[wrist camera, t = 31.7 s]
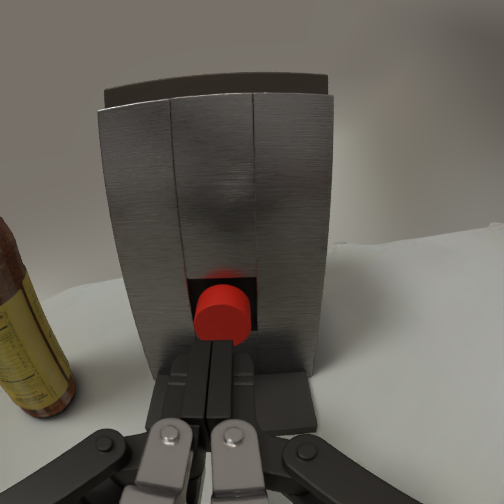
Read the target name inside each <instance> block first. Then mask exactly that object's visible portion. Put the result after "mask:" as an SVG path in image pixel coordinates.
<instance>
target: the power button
mask: <svg viewBox="0 0 504 504" xmlns="http://www.w3.org/2000/svg"><path fill="white" fill-rule="evenodd" d="M194 330H195V332H196V334H197V336H198V337H199V338H200V339H201V340H212V341H213V340H233V344H234V346H236V345H238V344H240V343H242V342H243V341H244V340H246V338H247V337H248V336H249V334H250V331H251V310H250V302H249V299H248V297H247V296H246V294H245V293H244V292H243V291H241V290H240V289H238V288H236V287H234V286H231V285H225V284H221V285H215V286H212V287H209V288H208V289H206V290H205V291H204V292H203V293H202V294H201V295H200V297H199V299H198V303H197V308H196V313H195V318H194Z"/></svg>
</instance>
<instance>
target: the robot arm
mask: <svg viewBox="0 0 504 504" xmlns="http://www.w3.org/2000/svg"><path fill="white" fill-rule="evenodd" d="M206 452H211V461H212V483H213V494H212V496H211V504H269V501H268V495H267V492H266V489H267V490H272V491H276V492H281V493H282V494H283V495H284V496H285V497H286V498H288V499H289V500H290V501H291V502H292V503H294V504H422V503H420V502H419V501H417V500H415V499H413V498H412V497H410V496H408V495H406V494H405V493H403V492H401V491H400V490H398V489H396V488H395V487H393V486H392V485H390V484H388V483H387V482H385V481H383V480H382V479H380V478H379V477H377V476H376V475H374V474H373V473H371V472H369V471H368V470H366V469H365V468H363V467H362V466H360V465H359V464H357V463H356V462H354V461H353V460H352V459H350V458H349V457H347V456H346V455H344V454H343V453H341V452H340V451H339V450H337V449H336V448H334V447H333V446H332V445H330V444H329V443H327V442H326V441H325V440H323V439H322V438H320V437H318V436H316V435H311V434H302V435H298V436H295V437H293V438H291V439H290V440H289V439H284V438H279V437H275V436H272V435H269V434H268V433H266V432H264V431H263V430H262V429H261V428H260V426H259V425H258V423H257V419H256V405H255V385H254V365H253V361H252V359H251V358H250V356H249V355H248V353H234V344H233V340H213V341H212V340H193V342H192V347H191V352H190V354H179V355H178V357H177V358H176V359H175V360H174V362H173V363H172V366H171V371H170V376H169V380H168V385H167V389H166V394H165V398H164V403H163V408H162V413H161V417H160V420H159V421H158V422H156V423H155V424H154V425H153V426H152V427H151V429H150V430H149V431H148V432H145V433H142V434H137V435H131V436H125V437H123V436H122V435H121V434H120V433H119V432H118V431H116V430H113V429H100V430H98V431H96V432H94V433H93V434H91V435H90V436H88V437H87V438H85V439H84V440H83V441H81V442H80V443H78V444H77V445H75V446H74V447H72V448H71V449H69V450H68V451H66V452H65V453H63V454H62V455H60V456H59V457H57V458H56V459H54V460H53V461H51V462H50V463H48V464H47V465H45V466H44V467H42V468H40V469H39V470H37V471H36V472H34V473H33V474H31V475H29V476H28V477H26V478H25V479H23V480H21V481H20V482H18V483H17V484H15V485H13V486H12V487H10V488H8V489H7V490H5V491H3V492H2V493H0V504H201V498H202V491H203V484H204V478H205V471H206V468H205V459H206Z"/></svg>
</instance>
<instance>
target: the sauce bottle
mask: <svg viewBox="0 0 504 504" xmlns="http://www.w3.org/2000/svg"><path fill="white" fill-rule="evenodd" d="M0 385H1V386H2V388H3V389H4V390H5V392H6V393H7V394H8V396H9V397H10V398H11V399H12V401H13V402H14V403H15V404H17V405H18V406H20V407H21V408H22V409H23V410H24V411H25V412H26V413H28V414H29V415H31V416H34V417H48V416H53V415H55V414H57V413H60V412H62V410H63V409H64V408H65V407H66V406H67V405H68V403H69V402H70V400H71V399H72V397H73V395H74V393H75V389H76V383H75V379H74V376H73V373H72V371H71V369H70V365H69V362H68V360H67V358H66V357H65V355H64V353H63V351H62V349H61V347H60V345H59V343H58V341H57V339H56V337H55V335H54V333H53V331H52V329H51V327H50V325H49V323H48V321H47V319H46V316H45V314H44V312H43V310H42V307H41V305H40V303H39V301H38V298H37V295H36V293H35V290H34V288H33V285H32V283H31V280H30V278H29V275H28V272H27V270H26V267H25V265H24V264H23V262H22V259H21V256H20V254H19V251H18V248H17V244H16V240H15V238H14V236H13V233H12V232H11V230H10V229H9V227H8V226H7V224H6V223H5V222H4V220H3V219H2V217H0Z"/></svg>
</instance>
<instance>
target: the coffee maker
mask: <svg viewBox="0 0 504 504" xmlns="http://www.w3.org/2000/svg"><path fill="white" fill-rule="evenodd" d="M104 101H105V109H101V110H98V111H97V112H98V126H99V138H100V147H101V157H102V165H103V173H104V180H105V187H106V194H107V200H108V206H109V212H110V218H111V223H112V228H113V234H114V239H115V243H116V248H117V253H118V257H119V262H120V266H121V271H122V275H123V279H124V283H125V287H126V291H127V295H128V298H129V302H130V306H131V309H132V313H133V317H134V320H135V323H136V327H137V330H138V334H139V337H140V340H141V343H142V346H143V349H144V352H145V356H146V359H147V362H148V364H149V367H150V370H151V373H152V376H153V379H154V380H156V383H155V387H154V391H153V395H152V399H151V403H150V408H149V412H148V416H147V421H146V425H145V429H146V430H147V432H148V431H149V430H150V429H151V427H152V426H153V425H154V424H155V423H156V422H158V421H159V420H160V417H161V413H162V408H163V403H164V398H165V394H166V389H167V385H168V380H169V376H170V371H171V366H172V363H173V362H174V360H175V359H176V358H177V357H178V355H179V354H190V352H191V347H192V342H193V340H201V339H200V338H199V337H198V336H197V334H196V332H195V330H194V318H195V313H196V308H197V303H198V299H199V297H200V295H201V294H202V293H203V292H204V291H205V290H206V289H208V288H209V287H212V286H215V285H221V284H225V285H231V286H234V287H236V288H238V289H240V290H241V291H243V292H244V293H245V294H246V296H247V297H248V299H249V302H250V310H251V331H250V334H249V336H248V337H247V338H246V340H244V341H243V342H242V343H240V344H238V345H236V346H234V353H248V355H249V356H250V358H251V359H252V361H253V365H254V385H255V405H256V419H257V423H258V425H259V426H260V428H261V429H262V430H263V431H264V432H266V433H268V434H269V435H272V436H276V435H289V434H300V433H309V432H316V429H317V422H316V417H315V412H314V407H313V403H312V398H311V393H310V389H309V384H308V380H307V377H311V375H312V368H313V362H314V355H315V349H316V342H317V335H318V327H319V320H320V312H321V304H322V295H323V286H324V277H325V267H326V256H327V244H328V233H329V219H330V203H331V186H332V163H333V125H334V124H333V123H334V121H333V120H334V118H333V117H334V116H333V115H334V96H333V95H328V75H325V74H311V73H290V72H239V73H218V74H204V75H192V76H183V77H174V78H166V79H159V80H152V81H145V82H139V83H133V84H128V85H123V86H118V87H113V88H108V89H105V90H104Z"/></svg>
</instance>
